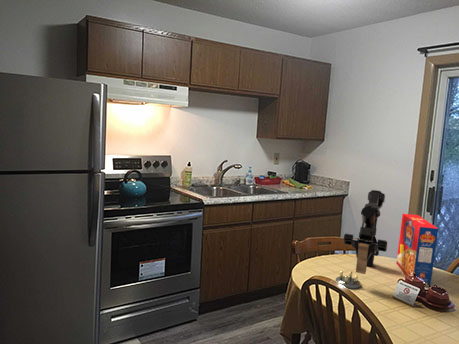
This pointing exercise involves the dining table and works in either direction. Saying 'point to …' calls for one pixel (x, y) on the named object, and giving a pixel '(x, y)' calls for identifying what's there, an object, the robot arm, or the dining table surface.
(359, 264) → the walnut block
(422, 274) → the pasta box
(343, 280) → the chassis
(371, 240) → the robot arm
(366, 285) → the dining table surface
